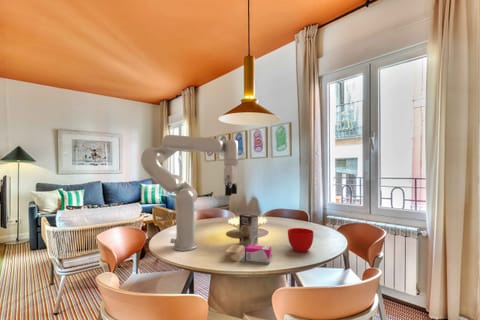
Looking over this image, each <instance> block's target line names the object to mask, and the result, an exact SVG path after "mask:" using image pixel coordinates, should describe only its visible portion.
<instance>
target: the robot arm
mask: <svg viewBox="0 0 480 320" xmlns="http://www.w3.org/2000/svg"><path fill="white" fill-rule="evenodd" d="M238 142H239V141H238V140H235V139H226V140H224V141H223V140H221V139H218V138H216V137H215V138H212V137H202V136H190V135H189V136H188V135H178V134H167V135H165V136H164V137H163V138H162V139H161V145H160V146H159V147H153V146H152V147H151V146H150V147H147V148H145V149H144V150H143V151H142V153H141V158H140V162H141V163H140V164H141V166H142V168H143V170H144V172H146V174H148V175H149V177H150V178H152V179H153V180H154V181H155V182H156V183H157V184H158V185H159V186H160V187H161V188H162V189H163V190H164V191H165V192H167V193H170V194H171V193H174V194H175V199H174V200H175V201H174V203H175V209H176V211H175V213H176V218H175V219H176V225H175V226H176V233H175V234H176V238H170V241H169V242H170V244H174V245H173V249H174V250H175V251H179V252H187V251H192V250H195V249H197V248H198V244H197V243H196V242H195V204H194V203H195V202H196V201H197V199H198V192H197V190H196V189H195V188H194V187H193V186H192V185H191V184H190V183H188V181H186V179H184V178H183V177H182V176H181V175H177V174H173V173H172V172H170V171H169V170H168V169H167V168H166V167H165V166H163V165H162V163H164V162H165V161H166V160H168V159H169V158H170V157H172V156H173V155H175V154H176V153H177V152H186V153H194V152H195V153H196V152H202V153H203V152H204V153H211V154H216V155H220V154H223V155H224V156H223V165H224V170H223V184H224V189H225V191H224V192H225V193H224V195H225V197H226V196H227V197H230V196H232V195H236V194H237V193H238V189H237V188H238V184H237V183H238V166H239V143H238Z"/></svg>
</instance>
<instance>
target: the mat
mask: <svg viewBox="0 0 480 320" xmlns="http://www.w3.org/2000/svg"><path fill="white" fill-rule="evenodd" d="M272 257H273V255H272V254H271V259H273V258H272ZM239 263H246V264H255V265H262V266H263V265H265V266H268V265H269V264H270V263H266V262H256V261H245V254H243V256H242V257H241V258H240V259H239Z"/></svg>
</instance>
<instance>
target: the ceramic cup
mask: <svg viewBox="0 0 480 320" xmlns="http://www.w3.org/2000/svg"><path fill="white" fill-rule="evenodd" d="M287 238H288V243H289V244H290V247H291V248H292V249H293V250H294V252H297V253H307V252H308V251H309V250H310V249H311V247H312V245H313V243H314V231H313V230H312V229H309V228H303V227H294V228H289V229H288V230H287Z"/></svg>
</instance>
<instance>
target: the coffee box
mask: <svg viewBox="0 0 480 320" xmlns="http://www.w3.org/2000/svg"><path fill="white" fill-rule="evenodd" d="M238 217H239V218H238V219H239V220H238V224H239V225H238V226H239V227H238V228H239V229H238V231H239V235H238V236H239V240H238V241H239V242H238V243H239V244H241V245H244V246H247V245H258V244H259V215H257V214H251V213H250V214H249V213H242V214H241V213H240V214H239V216H238Z"/></svg>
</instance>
